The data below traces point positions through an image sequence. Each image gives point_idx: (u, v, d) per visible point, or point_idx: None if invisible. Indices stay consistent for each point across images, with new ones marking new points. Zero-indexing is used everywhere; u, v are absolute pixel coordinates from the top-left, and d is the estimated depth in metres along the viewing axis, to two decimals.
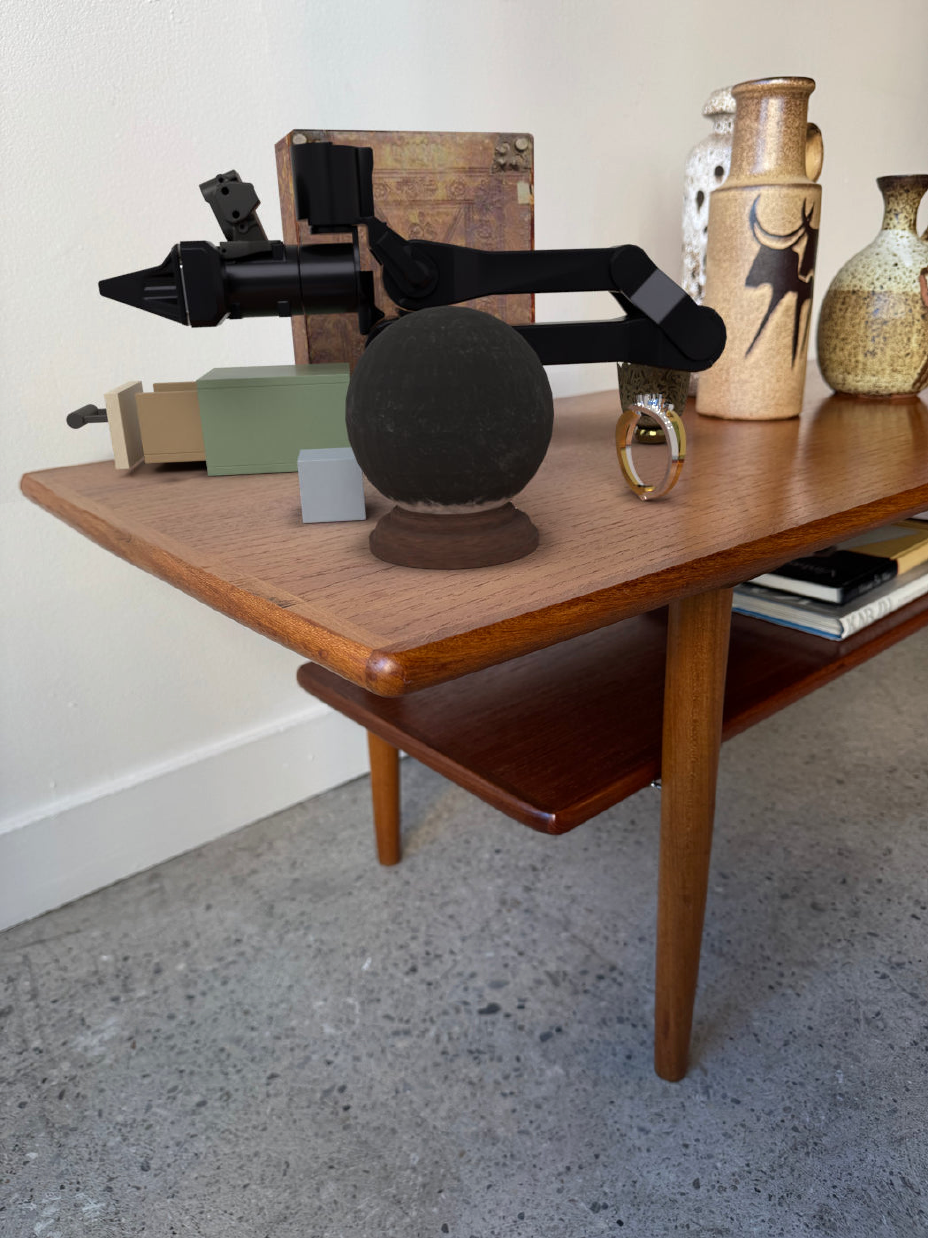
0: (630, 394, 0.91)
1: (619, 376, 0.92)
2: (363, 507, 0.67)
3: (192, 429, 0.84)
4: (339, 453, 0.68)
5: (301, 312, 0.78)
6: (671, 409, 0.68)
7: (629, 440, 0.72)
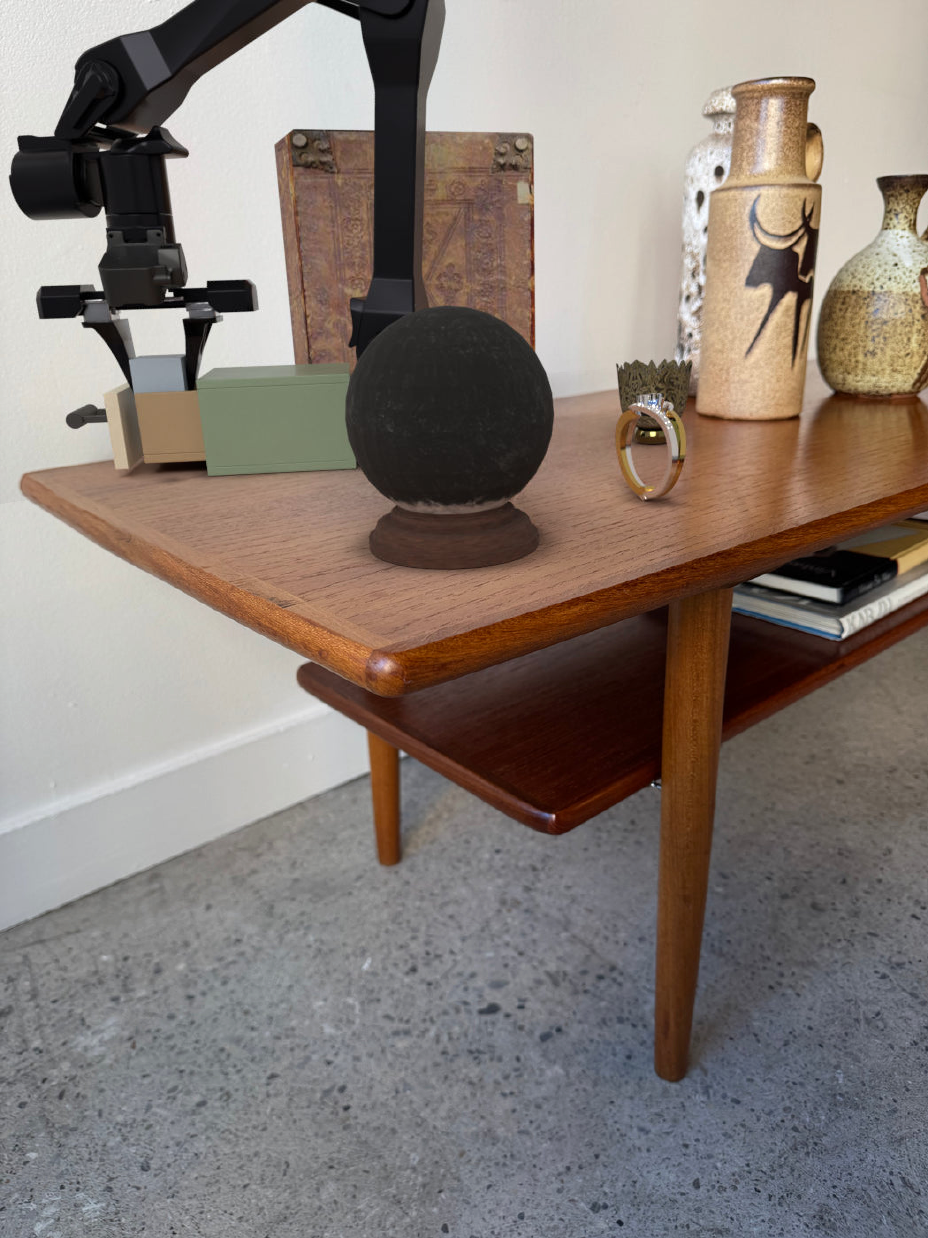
0: (628, 396, 0.91)
1: (618, 377, 0.92)
2: None
3: (191, 429, 0.84)
4: (166, 356, 0.86)
5: None
6: (671, 409, 0.68)
7: (629, 440, 0.72)
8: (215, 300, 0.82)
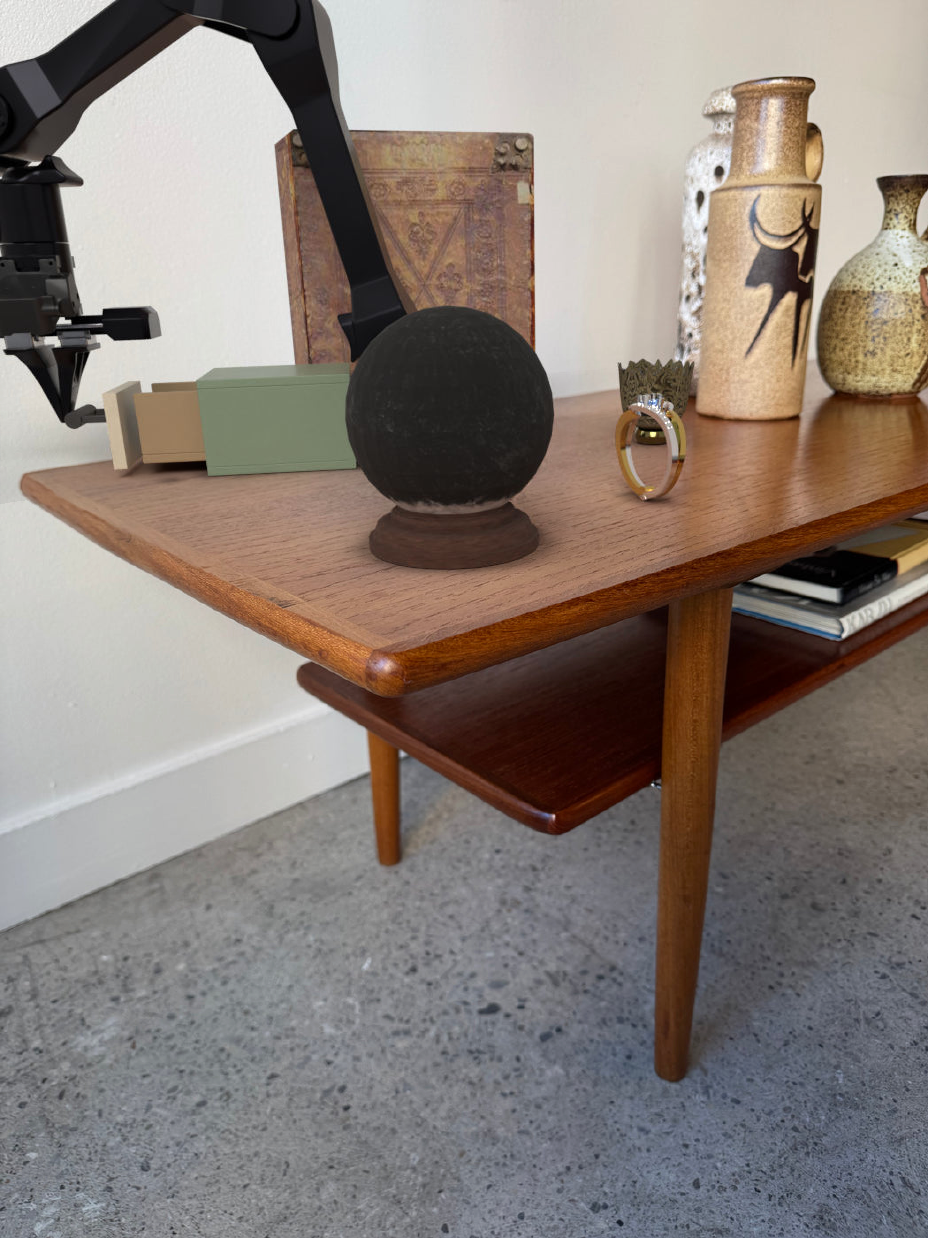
0: (626, 396, 0.91)
1: (619, 376, 0.92)
2: None
3: (190, 429, 0.84)
4: None
5: None
6: (671, 409, 0.68)
7: (629, 440, 0.72)
8: (111, 328, 0.82)
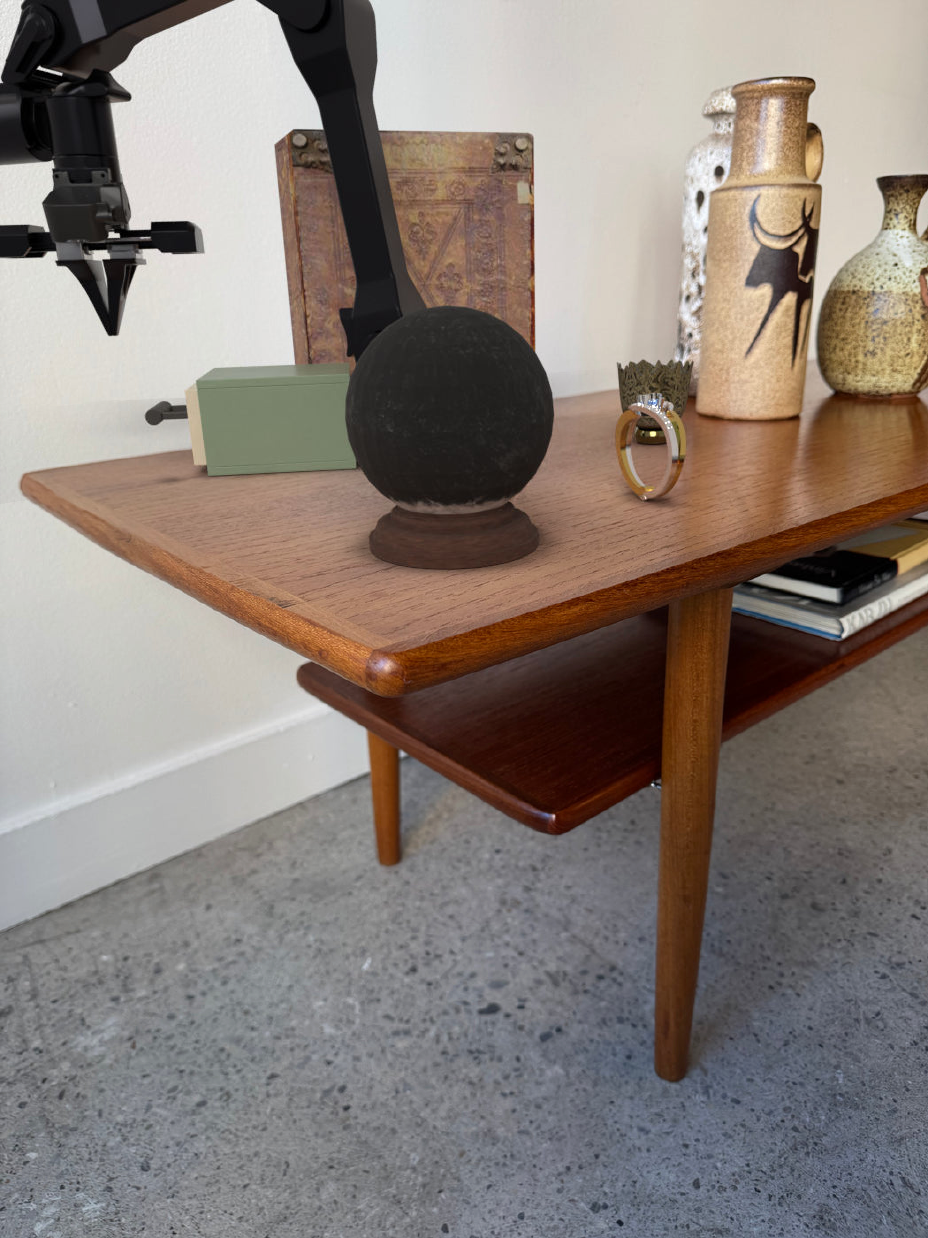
0: (625, 395, 0.91)
1: (618, 376, 0.92)
2: None
3: None
4: None
5: None
6: (671, 409, 0.68)
7: (629, 440, 0.72)
8: (159, 240, 0.85)
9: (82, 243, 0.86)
